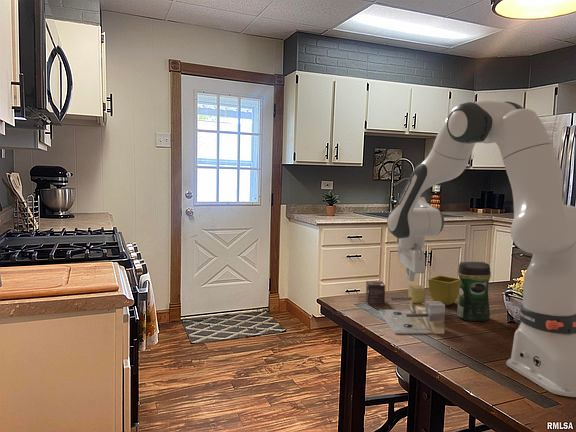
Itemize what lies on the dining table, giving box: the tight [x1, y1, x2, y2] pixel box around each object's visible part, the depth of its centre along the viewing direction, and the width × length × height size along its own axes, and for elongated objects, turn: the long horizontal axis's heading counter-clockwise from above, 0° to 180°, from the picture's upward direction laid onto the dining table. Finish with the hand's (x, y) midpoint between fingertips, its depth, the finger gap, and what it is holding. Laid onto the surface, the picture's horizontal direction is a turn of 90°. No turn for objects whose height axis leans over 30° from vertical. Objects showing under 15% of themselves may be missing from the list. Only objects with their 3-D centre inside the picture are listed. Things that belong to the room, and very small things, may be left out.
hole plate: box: [379, 309, 430, 335], centre depth 136 cm, size 20×10×1 cm, turn 1°
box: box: [365, 280, 386, 306], centre depth 158 cm, size 6×6×7 cm
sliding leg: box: [391, 285, 426, 304], centre depth 148 cm, size 4×11×5 cm, turn 91°
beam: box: [406, 300, 446, 335], centre depth 138 cm, size 24×11×8 cm, turn 1°
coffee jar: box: [456, 261, 492, 322], centre depth 140 cm, size 10×8×19 cm
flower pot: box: [427, 275, 460, 306], centre depth 157 cm, size 9×9×9 cm
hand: (410, 280), depth 154 cm, fingers closed
